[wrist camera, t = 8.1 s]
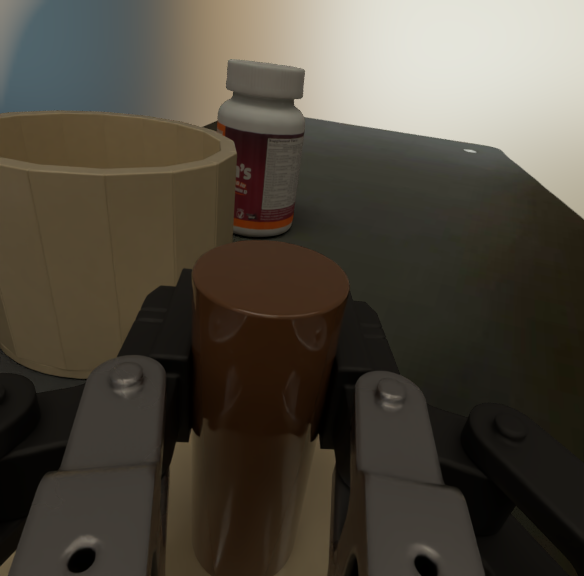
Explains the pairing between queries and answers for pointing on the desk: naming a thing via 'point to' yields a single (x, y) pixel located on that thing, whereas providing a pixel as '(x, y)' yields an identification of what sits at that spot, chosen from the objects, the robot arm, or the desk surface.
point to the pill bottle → (264, 143)
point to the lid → (256, 415)
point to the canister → (100, 226)
